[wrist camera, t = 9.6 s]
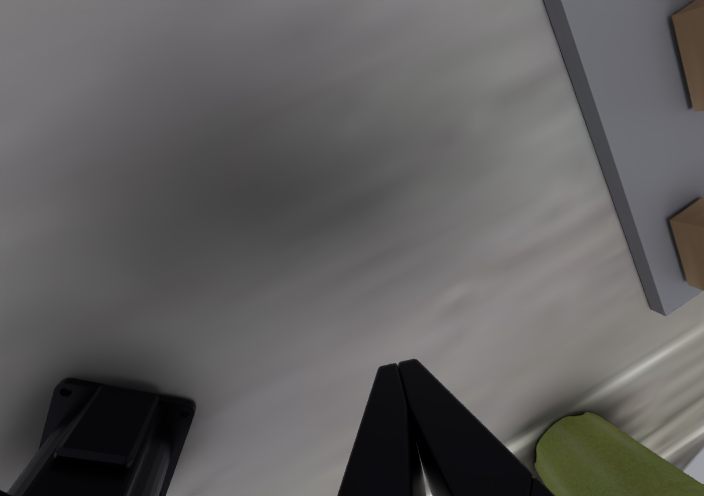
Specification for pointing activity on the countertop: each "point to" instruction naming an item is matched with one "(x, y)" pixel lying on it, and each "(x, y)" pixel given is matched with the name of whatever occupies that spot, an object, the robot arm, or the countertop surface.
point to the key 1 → (691, 242)
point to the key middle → (692, 49)
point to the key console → (638, 125)
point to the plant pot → (605, 462)
